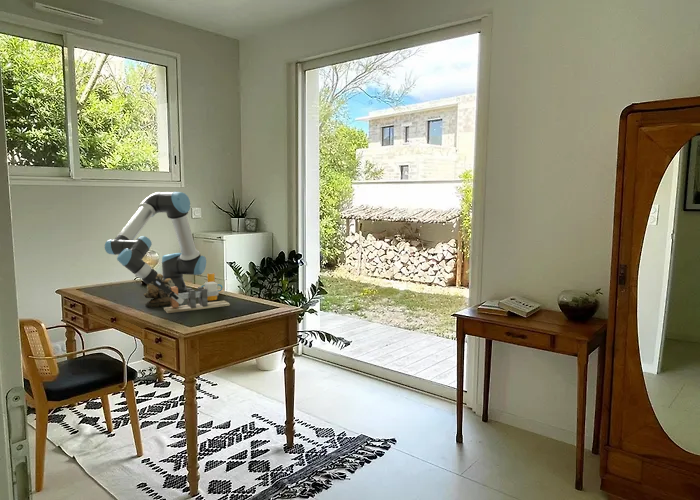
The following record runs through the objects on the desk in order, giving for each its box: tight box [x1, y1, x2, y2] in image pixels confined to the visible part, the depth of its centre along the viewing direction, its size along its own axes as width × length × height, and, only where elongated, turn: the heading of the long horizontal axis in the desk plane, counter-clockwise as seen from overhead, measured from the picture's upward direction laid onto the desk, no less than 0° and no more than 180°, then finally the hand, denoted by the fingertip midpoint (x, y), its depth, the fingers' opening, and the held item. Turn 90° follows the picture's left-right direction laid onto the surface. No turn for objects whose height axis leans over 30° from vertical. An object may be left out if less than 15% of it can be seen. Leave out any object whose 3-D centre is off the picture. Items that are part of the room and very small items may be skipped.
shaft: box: [170, 286, 220, 308], centre depth 252 cm, size 4×24×10 cm, turn 122°
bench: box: [163, 286, 231, 314], centre depth 253 cm, size 9×32×10 cm, turn 122°
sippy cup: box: [200, 272, 223, 302], centre depth 272 cm, size 12×10×15 cm
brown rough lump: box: [143, 273, 175, 309], centre depth 259 cm, size 18×12×17 cm, turn 134°
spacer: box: [203, 281, 219, 292], centre depth 256 cm, size 7×5×4 cm
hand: (179, 300), depth 248 cm, fingers open, 12 cm apart
